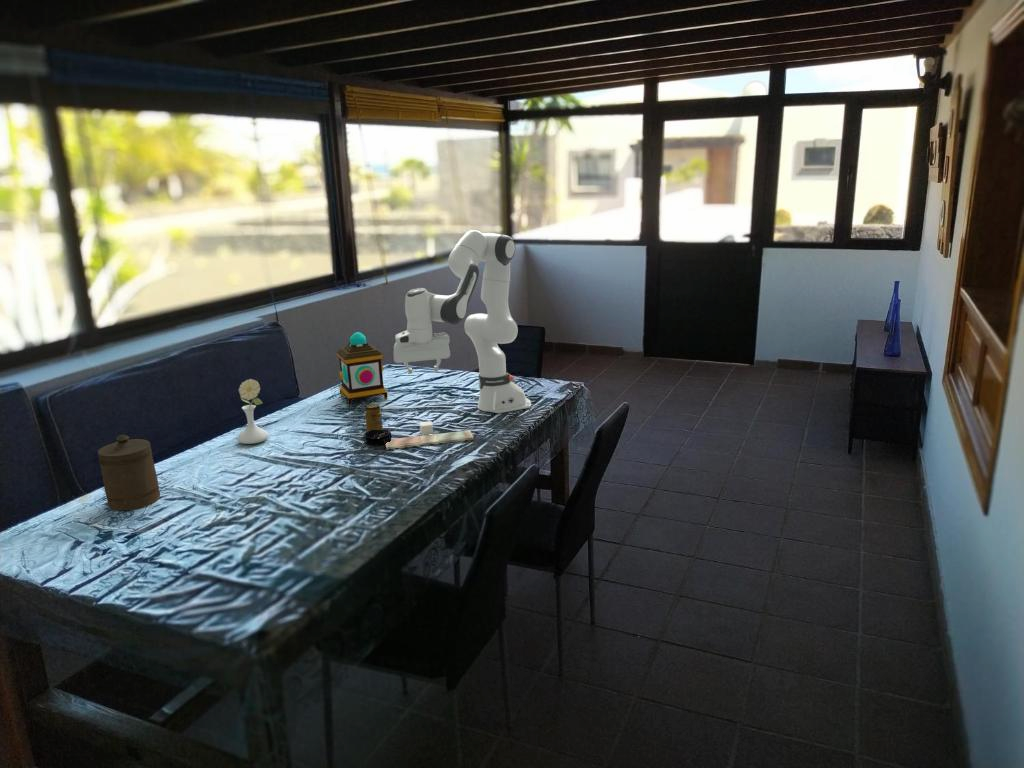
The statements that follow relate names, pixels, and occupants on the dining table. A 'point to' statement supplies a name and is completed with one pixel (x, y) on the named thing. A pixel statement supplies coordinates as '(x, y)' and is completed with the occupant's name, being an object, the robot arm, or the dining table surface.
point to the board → (429, 439)
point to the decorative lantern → (360, 369)
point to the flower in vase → (251, 414)
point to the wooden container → (128, 474)
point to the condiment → (373, 417)
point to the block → (426, 428)
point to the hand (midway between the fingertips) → (423, 372)
